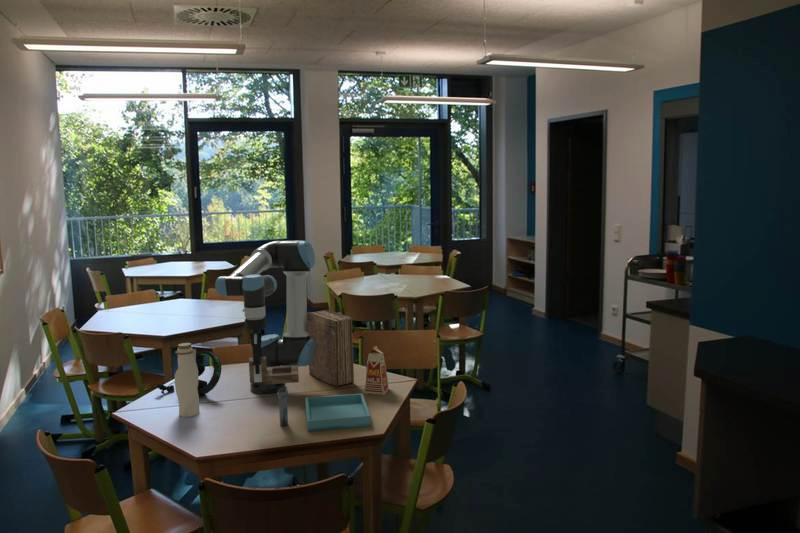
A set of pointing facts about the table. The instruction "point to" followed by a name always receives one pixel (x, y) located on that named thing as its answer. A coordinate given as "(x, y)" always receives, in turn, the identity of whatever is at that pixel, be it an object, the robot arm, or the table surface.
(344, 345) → the book
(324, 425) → the tray
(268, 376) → the tan blocky piece
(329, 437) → the table surface
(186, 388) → the water bottle
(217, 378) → the headset
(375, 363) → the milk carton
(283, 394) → the dark grey rod
